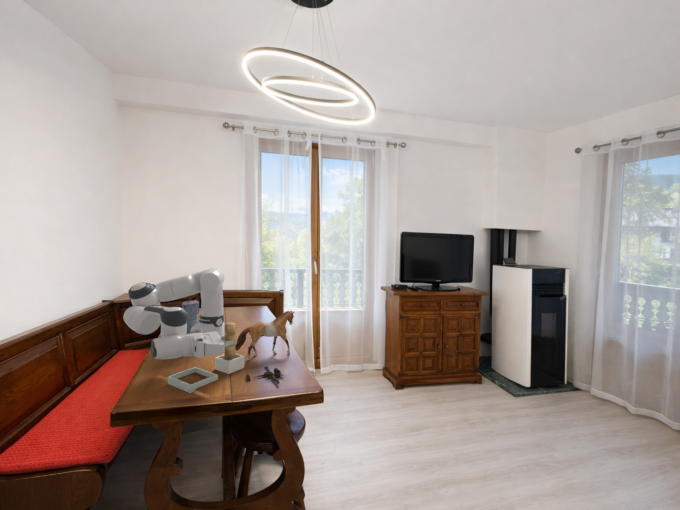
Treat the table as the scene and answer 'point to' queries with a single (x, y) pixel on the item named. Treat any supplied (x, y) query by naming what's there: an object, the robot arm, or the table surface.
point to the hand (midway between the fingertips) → (232, 340)
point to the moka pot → (191, 312)
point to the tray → (191, 388)
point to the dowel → (228, 335)
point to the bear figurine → (268, 375)
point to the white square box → (229, 364)
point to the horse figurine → (266, 332)
